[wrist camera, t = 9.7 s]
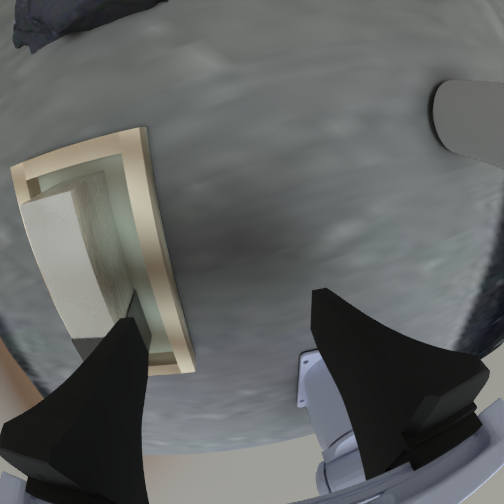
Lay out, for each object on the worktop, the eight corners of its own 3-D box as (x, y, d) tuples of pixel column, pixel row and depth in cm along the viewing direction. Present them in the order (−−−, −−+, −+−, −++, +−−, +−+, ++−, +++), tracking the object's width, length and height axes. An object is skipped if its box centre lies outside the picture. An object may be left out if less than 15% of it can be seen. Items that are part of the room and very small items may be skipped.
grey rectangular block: (59, 182, 15) (17, 206, 10) (106, 170, 15) (71, 191, 11) (112, 337, 21) (98, 385, 16) (152, 335, 21) (144, 384, 16)
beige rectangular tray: (195, 354, 23) (195, 371, 21) (99, 361, 22) (95, 376, 20) (146, 126, 15) (139, 127, 13) (25, 161, 14) (10, 167, 12)
